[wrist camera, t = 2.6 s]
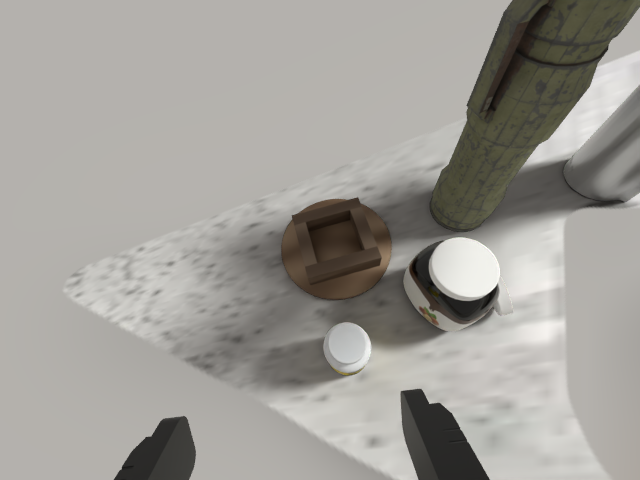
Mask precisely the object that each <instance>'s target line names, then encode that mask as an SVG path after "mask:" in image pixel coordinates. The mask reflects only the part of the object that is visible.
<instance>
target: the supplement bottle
mask: <svg viewBox="0 0 640 480" xmlns="http://www.w3.org/2000/svg"><path fill="white" fill-rule="evenodd" d="M323 350H324V355H325V357H326V359H327V361H328V363H329V364H330V365H331V367H332V368H333V369H334V370H335V371H336V372H338V373H340V374H342V375H354V374H356V373H358V372H360V371H361V370H362V369H363V368H364V367H365V365H366V364H367V362H368V360H369V358H370V355H371V342H370V339H369V336H368V335H367V333H366V332H365V331H364V330H363V329H362V328H361V327H360V326H358V325H356V324H354V323H350V322H343V323H339V324H337V325H335V326H333V327H332V328H331V329H330V330H329V331H328V333H327V334H326V336H325V339H324V344H323Z"/></svg>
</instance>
